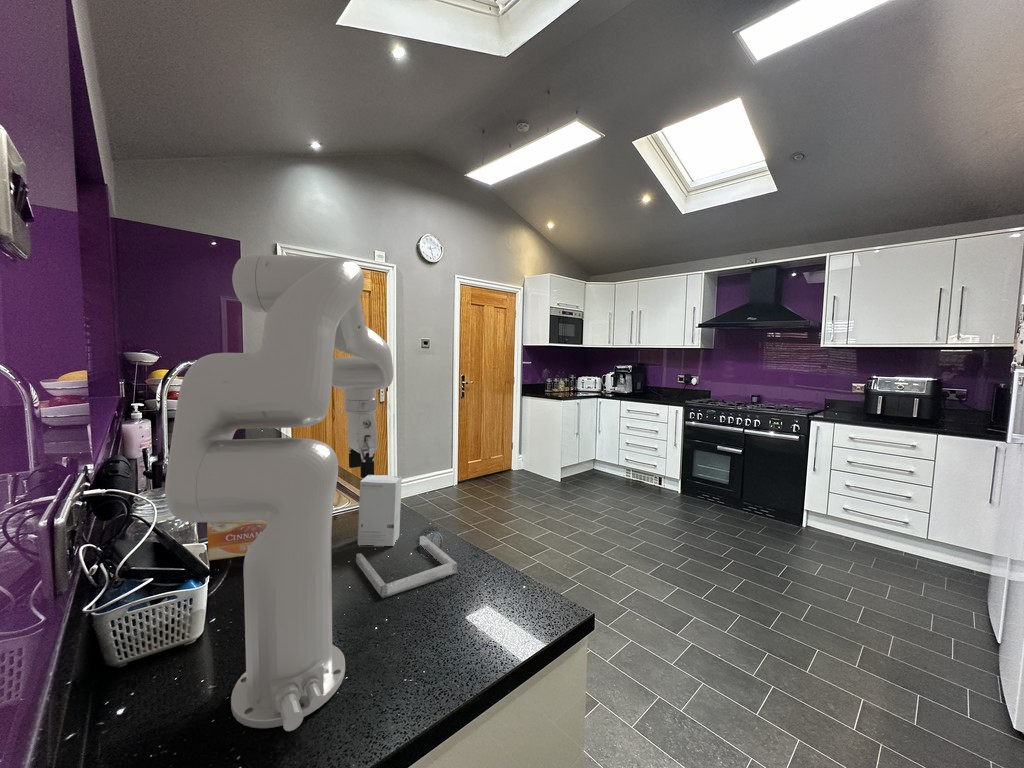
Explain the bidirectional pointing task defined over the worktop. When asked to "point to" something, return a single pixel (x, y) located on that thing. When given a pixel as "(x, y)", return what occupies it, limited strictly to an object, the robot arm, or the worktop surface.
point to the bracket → (415, 580)
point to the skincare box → (379, 510)
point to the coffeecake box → (232, 537)
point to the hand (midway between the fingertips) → (361, 471)
